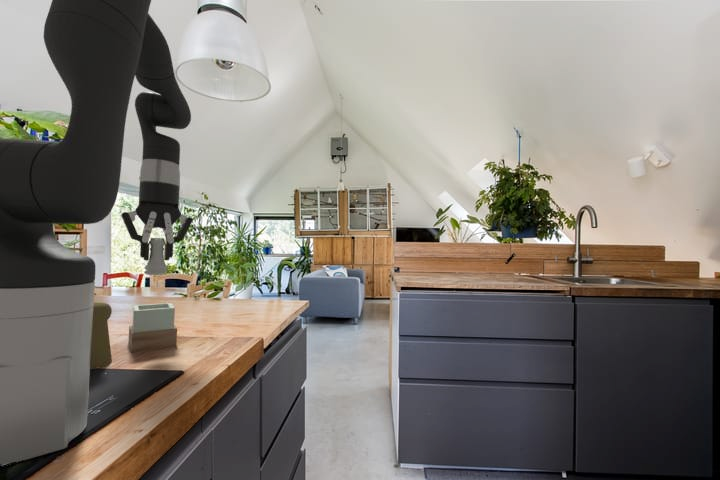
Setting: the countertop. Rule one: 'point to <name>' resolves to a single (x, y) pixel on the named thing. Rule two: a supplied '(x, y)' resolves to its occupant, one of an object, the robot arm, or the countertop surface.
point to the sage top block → (153, 317)
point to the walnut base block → (152, 339)
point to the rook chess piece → (156, 258)
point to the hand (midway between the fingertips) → (156, 259)
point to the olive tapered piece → (100, 336)
